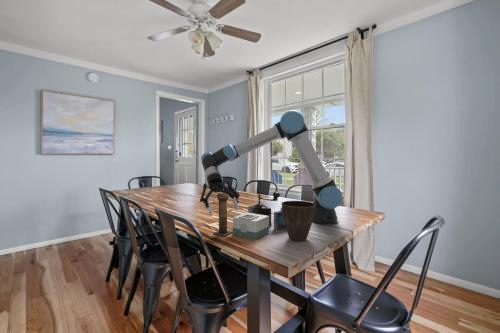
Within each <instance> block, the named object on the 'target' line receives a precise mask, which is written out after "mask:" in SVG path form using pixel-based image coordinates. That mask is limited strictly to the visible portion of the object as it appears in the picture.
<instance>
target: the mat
mask: <svg viewBox="0 0 500 333" xmlns="http://www.w3.org/2000/svg"><path fill="white" fill-rule="evenodd" d="M231 234H233V230H232V231H231V230H228V229H227V233H224V234H221V233H219V230H217V231H214V232H212V235H215V236H219V237H222V238H223V237H227V236H229V235H231Z"/></svg>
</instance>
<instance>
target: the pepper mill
mask: <svg viewBox="0 0 500 333" xmlns="http://www.w3.org/2000/svg"><path fill="white" fill-rule="evenodd" d="M280 196H281V195H280V193H279V192H278V191H273V193H272V198H267V197H261V194H257V198H258V203H256V204H254V205H249V206H248V209H247V213H253V214H260V215H266V216H269V227H270V226H272V208H271V207H269V206H267V205H265V204H263V203H261V200H264V201H271V202H277V201H279V200H278V198H280Z"/></svg>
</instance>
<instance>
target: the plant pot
mask: <svg viewBox="0 0 500 333" xmlns="http://www.w3.org/2000/svg"><path fill="white" fill-rule="evenodd" d="M280 204H281V208H282V212H283V217H284V222H285V226H286V229H285V230H286V233H287V236H288V238H289V240H291V241H292V242H293V241H294V242H305V241H306V240H307V238H308V236H309V234H310V231H311V227H312V224H313V216H314V211H315V204H314V203H313V202H310V201H305V200H288V201H287V200H286V201H282V202H281V203H280Z"/></svg>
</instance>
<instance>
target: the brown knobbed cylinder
mask: <svg viewBox="0 0 500 333" xmlns="http://www.w3.org/2000/svg"><path fill="white" fill-rule="evenodd" d="M216 197H217V201H218V231H219V233H221V234H224V233H227V230H228V201H229V196H228V194H225V193H222V192H221V193H217V195H216Z"/></svg>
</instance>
